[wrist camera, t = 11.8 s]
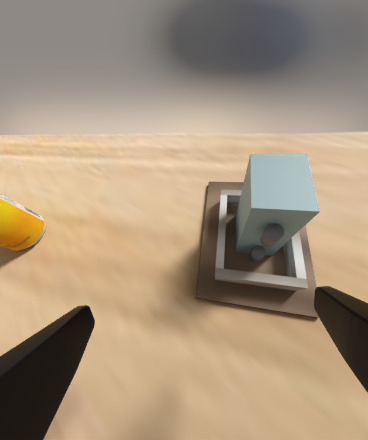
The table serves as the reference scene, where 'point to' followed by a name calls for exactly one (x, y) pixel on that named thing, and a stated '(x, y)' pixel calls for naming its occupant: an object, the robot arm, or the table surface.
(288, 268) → the brown framed base board
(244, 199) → the pale blue box
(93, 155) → the table surface
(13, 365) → the robot arm
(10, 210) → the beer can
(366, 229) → the table surface
